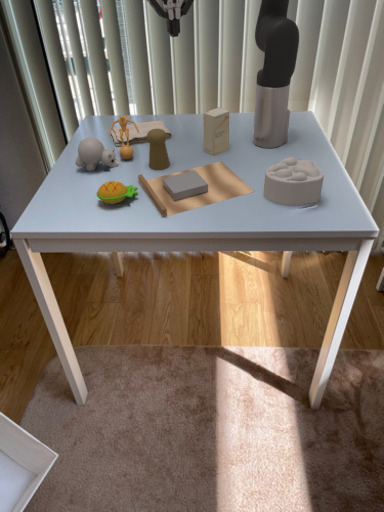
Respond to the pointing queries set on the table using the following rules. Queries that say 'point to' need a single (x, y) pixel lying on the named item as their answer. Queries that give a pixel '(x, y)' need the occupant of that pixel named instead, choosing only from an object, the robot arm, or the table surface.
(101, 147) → the chubby cartoon animal
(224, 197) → the oak board
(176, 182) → the slate tile
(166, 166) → the olive pepper mill
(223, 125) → the skincare box
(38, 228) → the table surface
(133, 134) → the washcloth
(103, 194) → the toy pineapple
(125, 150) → the figurine
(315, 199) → the lumpy-topped squat cylinder
